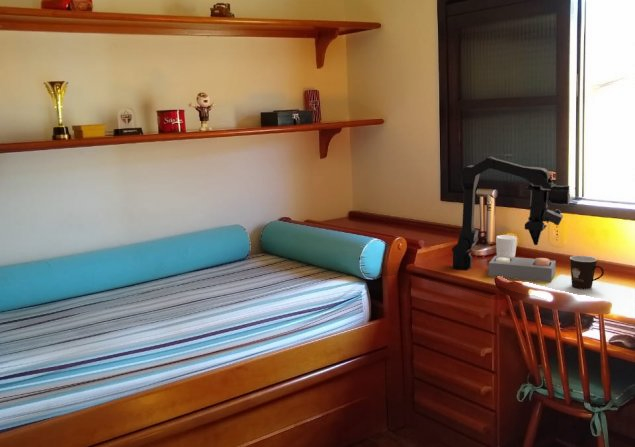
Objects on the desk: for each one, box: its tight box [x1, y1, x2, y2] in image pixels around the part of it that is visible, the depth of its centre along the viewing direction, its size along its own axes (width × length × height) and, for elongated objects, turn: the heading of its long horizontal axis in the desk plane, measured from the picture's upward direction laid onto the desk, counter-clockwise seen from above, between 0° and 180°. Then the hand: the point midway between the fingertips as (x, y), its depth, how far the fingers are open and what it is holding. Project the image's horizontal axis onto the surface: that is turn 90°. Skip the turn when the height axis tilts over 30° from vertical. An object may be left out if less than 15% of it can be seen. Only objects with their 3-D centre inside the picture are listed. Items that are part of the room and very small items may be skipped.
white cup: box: [495, 234, 518, 257], centre depth 256 cm, size 8×8×10 cm
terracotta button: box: [534, 257, 551, 266], centre depth 234 cm, size 5×5×4 cm
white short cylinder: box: [496, 257, 510, 263], centre depth 240 cm, size 5×5×4 cm
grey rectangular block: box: [488, 254, 556, 283], centre depth 237 cm, size 22×12×5 cm, turn 64°
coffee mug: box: [569, 255, 605, 290], centre depth 219 cm, size 12×9×10 cm
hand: (535, 244), depth 235 cm, fingers closed
